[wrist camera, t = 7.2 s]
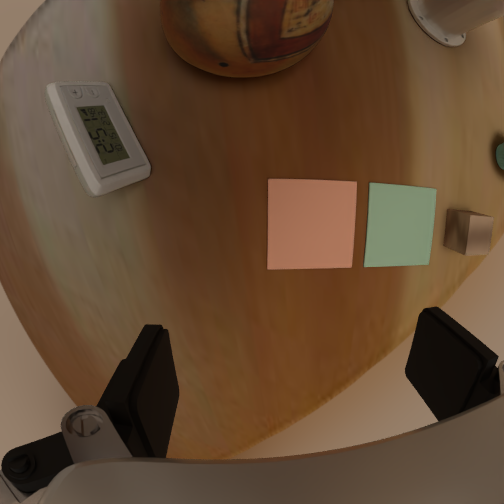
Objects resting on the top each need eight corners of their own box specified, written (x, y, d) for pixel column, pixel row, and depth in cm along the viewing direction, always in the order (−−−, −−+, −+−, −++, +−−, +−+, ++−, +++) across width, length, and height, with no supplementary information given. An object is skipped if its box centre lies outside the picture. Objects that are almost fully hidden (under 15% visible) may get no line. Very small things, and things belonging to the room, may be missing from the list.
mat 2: (368, 182, 38) (369, 182, 37) (435, 188, 38) (436, 188, 38) (363, 266, 41) (364, 267, 41) (427, 264, 41) (428, 264, 41)
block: (447, 208, 39) (470, 215, 33) (470, 211, 39) (493, 217, 34) (443, 245, 41) (465, 255, 35) (466, 245, 41) (488, 254, 35)
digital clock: (157, 179, 37) (128, 183, 26) (100, 202, 37) (60, 213, 27) (128, 73, 32) (96, 47, 22) (75, 100, 33) (33, 86, 22)
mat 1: (267, 178, 37) (268, 178, 37) (356, 181, 38) (356, 181, 37) (267, 268, 40) (267, 269, 40) (350, 266, 41) (351, 267, 40)
